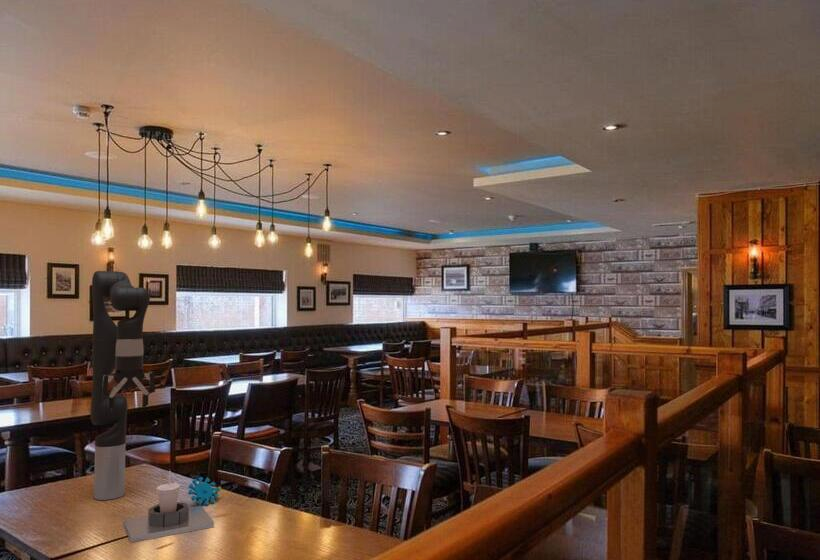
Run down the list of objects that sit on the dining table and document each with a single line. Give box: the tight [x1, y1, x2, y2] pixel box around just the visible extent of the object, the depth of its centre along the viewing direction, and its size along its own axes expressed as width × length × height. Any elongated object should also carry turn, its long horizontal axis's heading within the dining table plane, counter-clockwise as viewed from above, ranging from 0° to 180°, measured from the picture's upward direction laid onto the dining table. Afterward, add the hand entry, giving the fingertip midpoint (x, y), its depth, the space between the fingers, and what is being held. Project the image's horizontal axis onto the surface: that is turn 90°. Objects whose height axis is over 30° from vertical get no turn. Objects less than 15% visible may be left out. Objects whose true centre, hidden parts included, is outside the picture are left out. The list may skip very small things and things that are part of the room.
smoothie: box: [156, 470, 181, 513], centre depth 176 cm, size 6×6×14 cm
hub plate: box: [122, 501, 215, 544], centre depth 176 cm, size 16×22×5 cm
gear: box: [187, 476, 222, 506], centre depth 197 cm, size 11×6×10 cm
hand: (128, 408), depth 180 cm, fingers open, 8 cm apart
